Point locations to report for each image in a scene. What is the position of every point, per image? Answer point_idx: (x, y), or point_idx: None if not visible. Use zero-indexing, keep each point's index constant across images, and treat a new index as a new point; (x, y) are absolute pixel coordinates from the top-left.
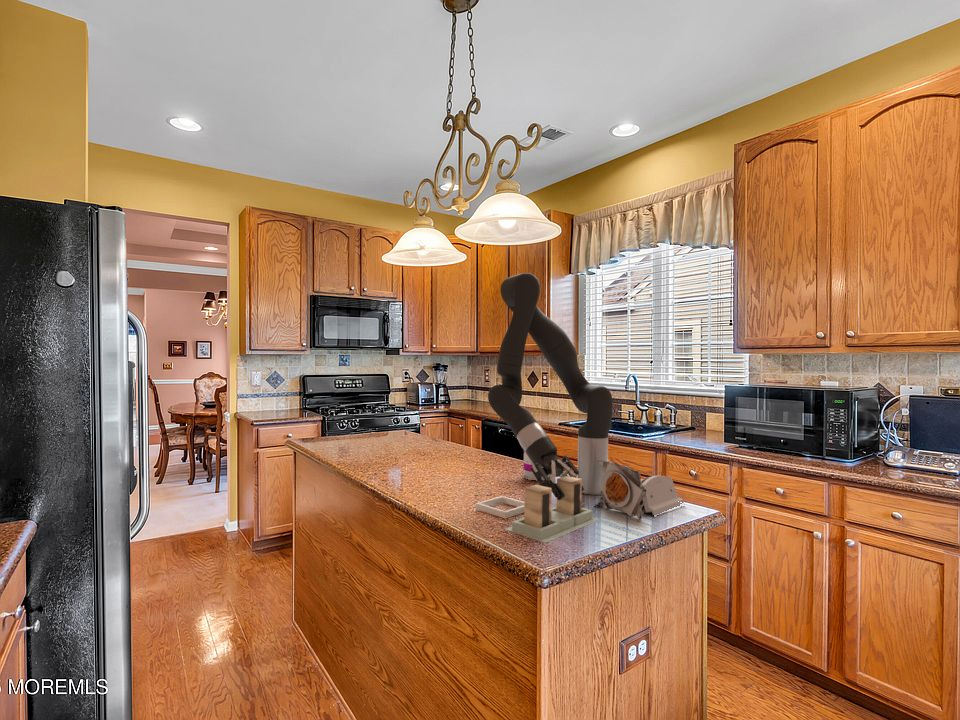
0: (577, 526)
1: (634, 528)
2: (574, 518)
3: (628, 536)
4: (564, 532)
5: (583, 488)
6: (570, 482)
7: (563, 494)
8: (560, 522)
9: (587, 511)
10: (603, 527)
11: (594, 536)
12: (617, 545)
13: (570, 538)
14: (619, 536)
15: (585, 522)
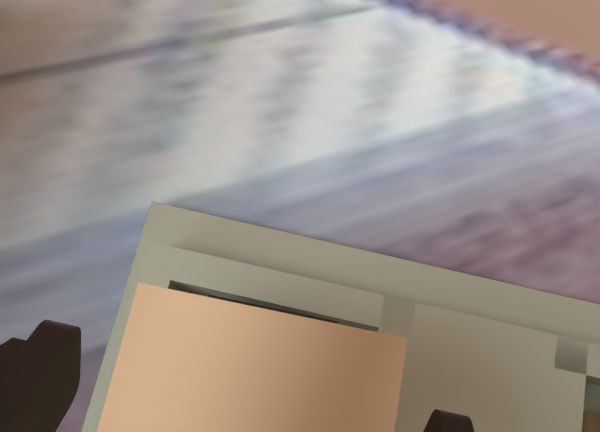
0: (389, 285)
1: (138, 12)
2: (406, 300)
3: (297, 12)
4: (552, 315)
5: (47, 322)
6: (402, 366)
7: (460, 419)
8: (578, 348)
9: (195, 268)
10: (224, 168)
11: (414, 167)
12: (466, 29)
13: (537, 276)
14: (327, 51)
15: (277, 266)
